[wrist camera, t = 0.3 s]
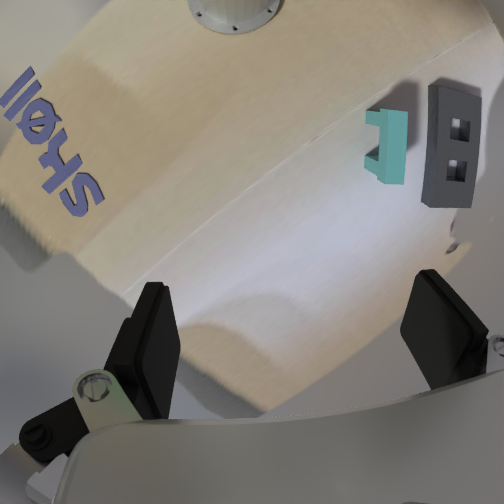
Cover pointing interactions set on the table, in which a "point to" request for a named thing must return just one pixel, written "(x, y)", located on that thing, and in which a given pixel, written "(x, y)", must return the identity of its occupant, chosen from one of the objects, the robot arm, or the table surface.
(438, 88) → the gray slotted base plate
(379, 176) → the clip
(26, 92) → the signage
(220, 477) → the robot arm
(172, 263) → the table surface
